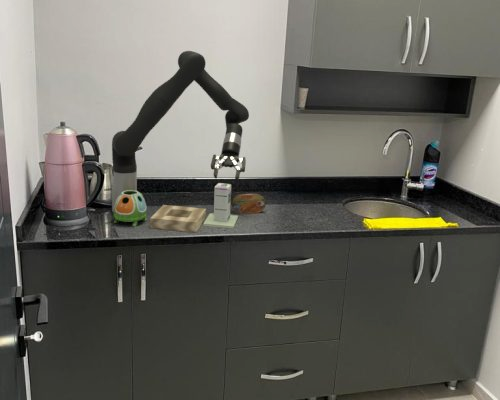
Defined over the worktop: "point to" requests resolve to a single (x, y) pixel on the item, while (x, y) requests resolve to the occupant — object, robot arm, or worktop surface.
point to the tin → (248, 203)
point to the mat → (212, 223)
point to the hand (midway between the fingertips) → (225, 178)
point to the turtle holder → (130, 207)
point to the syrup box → (222, 202)
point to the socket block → (178, 218)
